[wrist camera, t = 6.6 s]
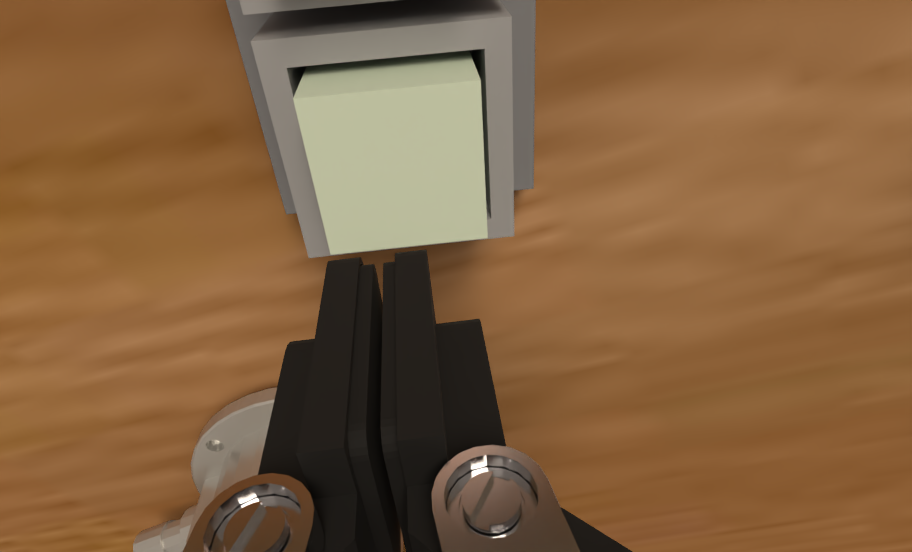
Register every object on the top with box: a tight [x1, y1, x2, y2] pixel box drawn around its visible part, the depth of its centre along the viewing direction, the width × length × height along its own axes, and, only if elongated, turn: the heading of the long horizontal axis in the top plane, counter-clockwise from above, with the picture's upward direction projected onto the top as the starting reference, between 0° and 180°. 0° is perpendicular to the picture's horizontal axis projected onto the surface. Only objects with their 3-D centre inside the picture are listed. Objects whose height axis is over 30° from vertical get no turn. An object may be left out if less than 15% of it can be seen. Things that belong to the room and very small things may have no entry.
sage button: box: [293, 50, 488, 255], centre depth 16 cm, size 4×4×3 cm
